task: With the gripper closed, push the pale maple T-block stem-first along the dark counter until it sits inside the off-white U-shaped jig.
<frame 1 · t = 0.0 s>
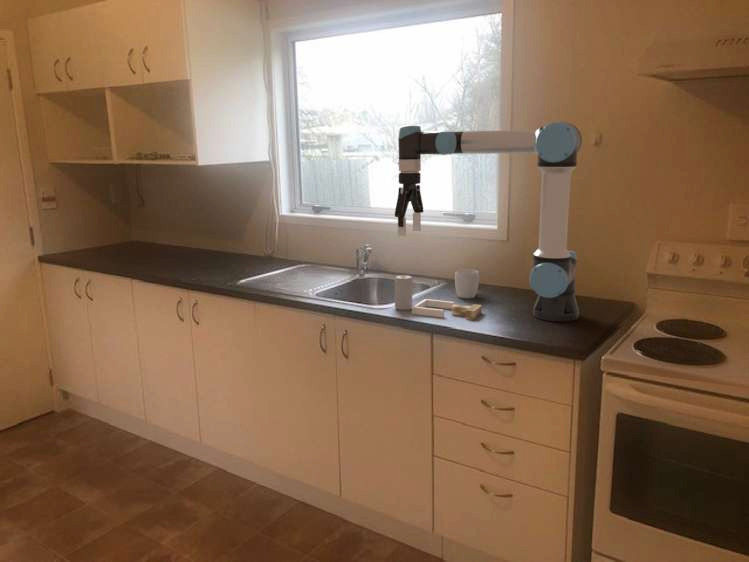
hand: (409, 233, 217), 28 cm above the worktop, fingers open, 13 cm apart
jig: (434, 311, 222), on the worktop
t block: (473, 315, 216), on the worktop
mug: (468, 296, 244), on the worktop
beverage can: (403, 309, 226), on the worktop
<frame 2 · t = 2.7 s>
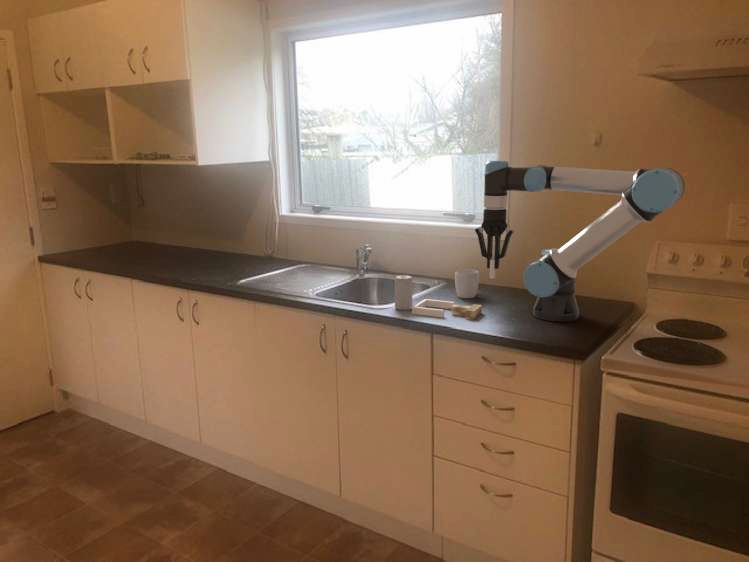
hand: (492, 277, 210), 14 cm above the worktop, fingers closed
nothing on the worktop moved.
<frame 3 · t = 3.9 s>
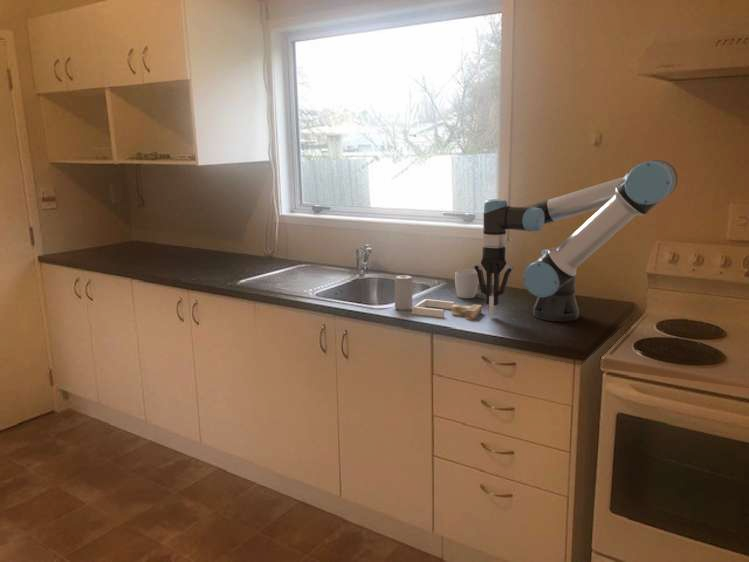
hand: (491, 313, 213), 1 cm above the worktop, fingers closed
nothing on the worktop moved.
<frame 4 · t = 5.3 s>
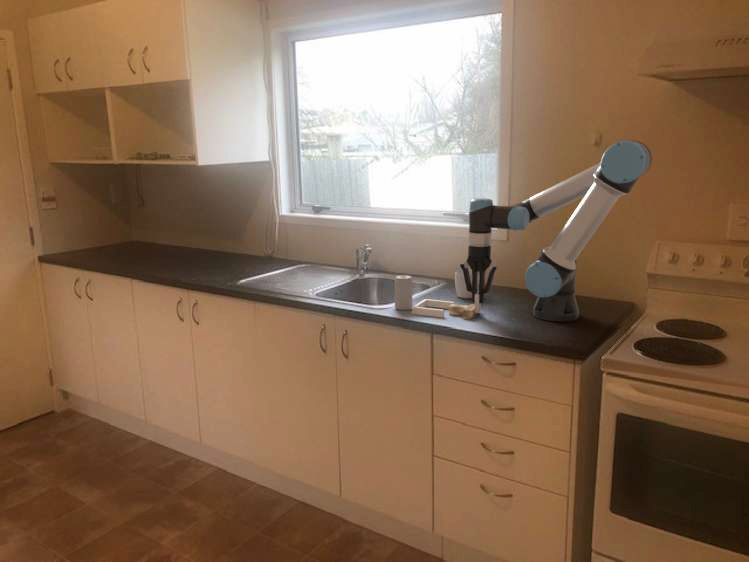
hand: (477, 311, 215), 2 cm above the worktop, fingers closed
t block: (471, 315, 216), on the worktop, touching gripper
everything else where it was.
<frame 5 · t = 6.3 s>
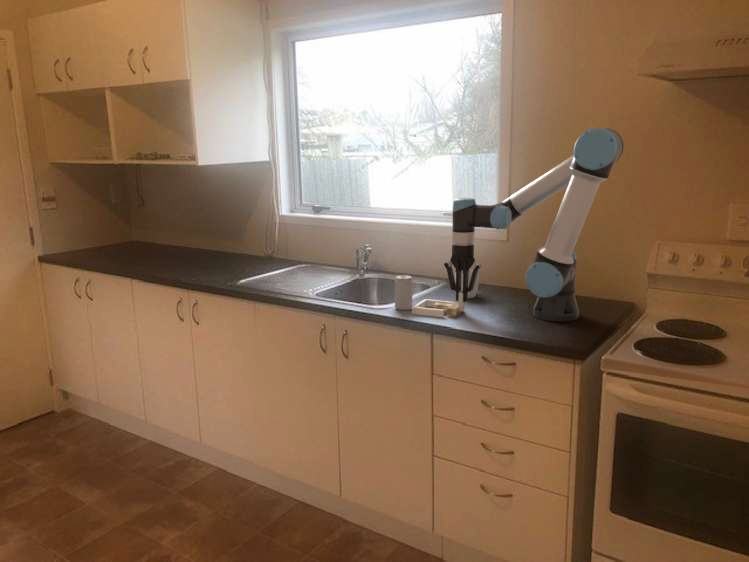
hand: (461, 310, 217), 2 cm above the worktop, fingers closed
t block: (455, 313, 219), on the worktop, touching gripper
everything else where it was.
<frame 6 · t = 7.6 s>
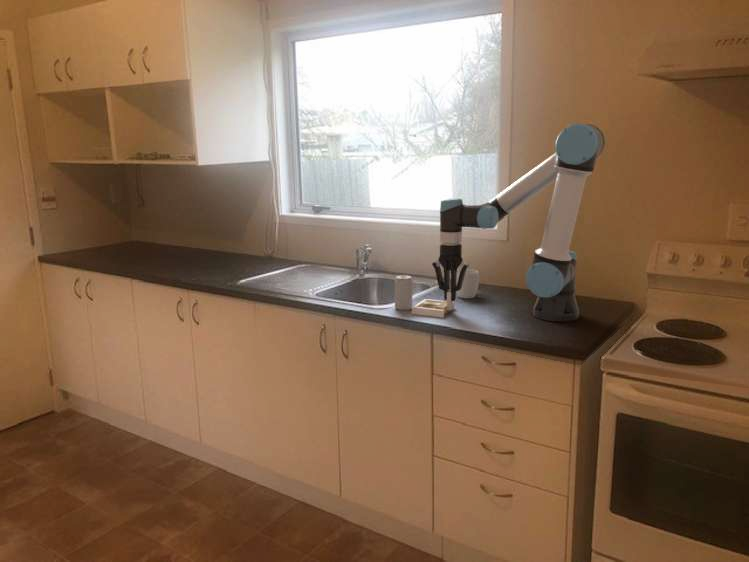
hand: (449, 309, 219), 1 cm above the worktop, fingers closed
t block: (443, 312, 220), on the worktop, touching gripper
everything else where it was.
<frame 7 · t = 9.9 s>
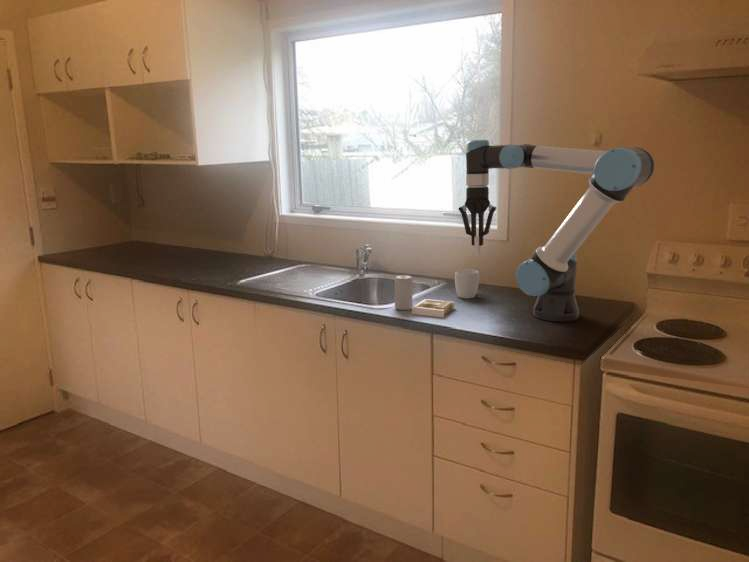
hand: (477, 254, 216), 21 cm above the worktop, fingers closed
t block: (443, 312, 220), on the worktop
everything else where it was.
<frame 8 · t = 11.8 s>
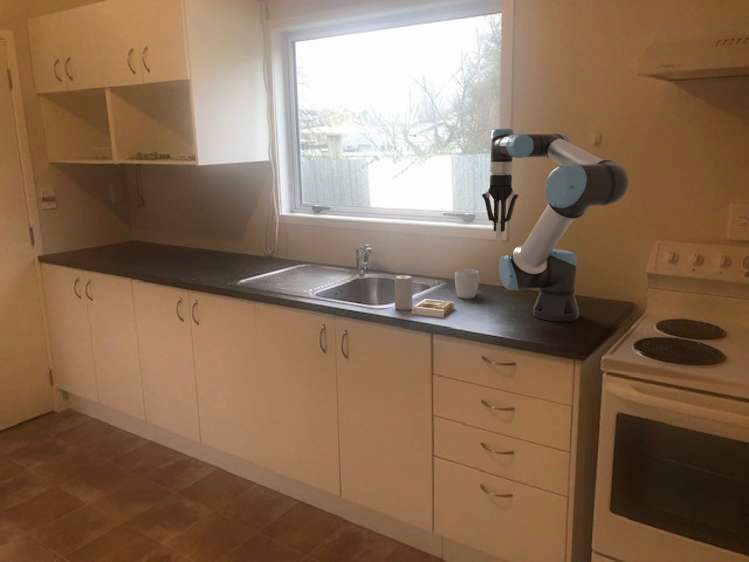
hand: (498, 240, 223), 24 cm above the worktop, fingers closed
nothing on the worktop moved.
at the end: t block 0.5 cm from the target spot on the jig, point 0.0 cm above the jig's base; t block moved 11.0 cm from its start; t block tilted 0° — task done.
